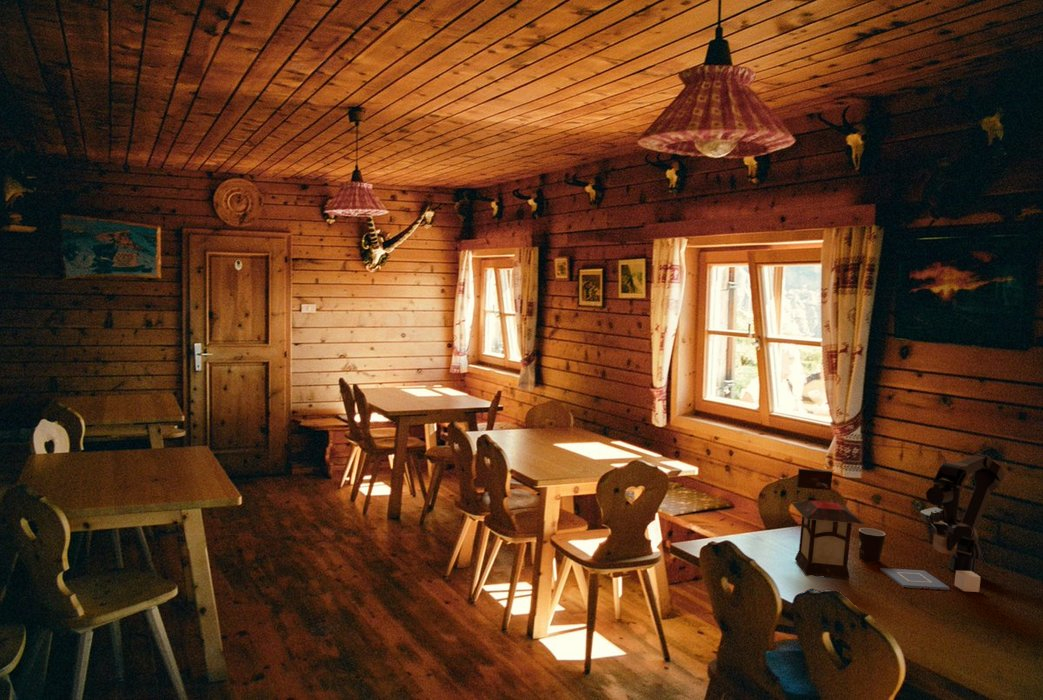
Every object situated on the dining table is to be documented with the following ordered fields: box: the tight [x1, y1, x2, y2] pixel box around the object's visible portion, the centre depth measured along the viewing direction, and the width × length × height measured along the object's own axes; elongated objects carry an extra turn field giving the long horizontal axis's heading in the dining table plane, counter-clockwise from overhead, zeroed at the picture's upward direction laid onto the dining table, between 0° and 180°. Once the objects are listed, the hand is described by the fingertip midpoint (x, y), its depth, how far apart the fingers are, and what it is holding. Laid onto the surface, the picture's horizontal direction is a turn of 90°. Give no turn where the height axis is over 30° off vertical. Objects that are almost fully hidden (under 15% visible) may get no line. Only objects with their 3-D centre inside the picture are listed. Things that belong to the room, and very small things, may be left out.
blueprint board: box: [879, 567, 951, 591], centre depth 255 cm, size 15×15×1 cm
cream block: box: [954, 570, 981, 593], centre depth 251 cm, size 5×5×5 cm
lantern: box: [791, 468, 865, 580], centre depth 261 cm, size 18×26×30 cm
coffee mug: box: [858, 527, 886, 564], centre depth 274 cm, size 12×9×10 cm
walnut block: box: [932, 533, 957, 555], centre depth 258 cm, size 5×5×5 cm
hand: (944, 548), depth 258 cm, fingers closed on walnut block, 5 cm apart
